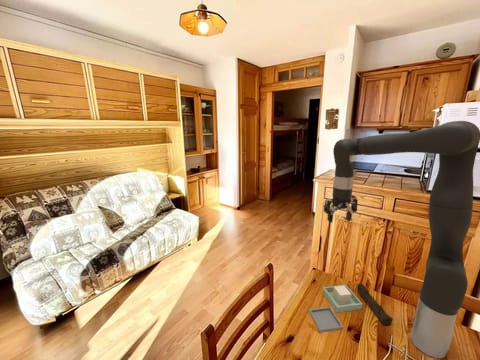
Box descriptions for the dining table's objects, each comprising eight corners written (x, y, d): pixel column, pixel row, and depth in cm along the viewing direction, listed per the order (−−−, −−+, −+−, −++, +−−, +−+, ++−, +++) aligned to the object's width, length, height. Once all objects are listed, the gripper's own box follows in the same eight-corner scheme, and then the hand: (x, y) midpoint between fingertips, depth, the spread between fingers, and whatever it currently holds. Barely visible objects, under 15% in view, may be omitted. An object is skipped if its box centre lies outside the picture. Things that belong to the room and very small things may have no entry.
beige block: (343, 294, 94) (344, 285, 93) (350, 303, 89) (351, 294, 88) (332, 296, 94) (333, 286, 92) (339, 305, 89) (340, 295, 88)
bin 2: (345, 289, 98) (346, 284, 97) (361, 309, 87) (362, 304, 86) (322, 292, 96) (323, 287, 96) (336, 313, 86) (337, 307, 85)
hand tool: (392, 326, 80) (394, 316, 79) (381, 326, 80) (383, 316, 79) (363, 289, 98) (364, 280, 97) (354, 289, 98) (355, 281, 97)
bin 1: (329, 309, 88) (330, 306, 87) (343, 329, 79) (343, 326, 78) (308, 312, 86) (309, 309, 86) (319, 333, 78) (320, 330, 77)
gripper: (332, 189, 85) (328, 226, 89) (364, 187, 87) (359, 223, 91) (322, 184, 92) (320, 218, 96) (352, 183, 94) (348, 216, 98)
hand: (339, 221), depth 94 cm, fingers open, 8 cm apart
